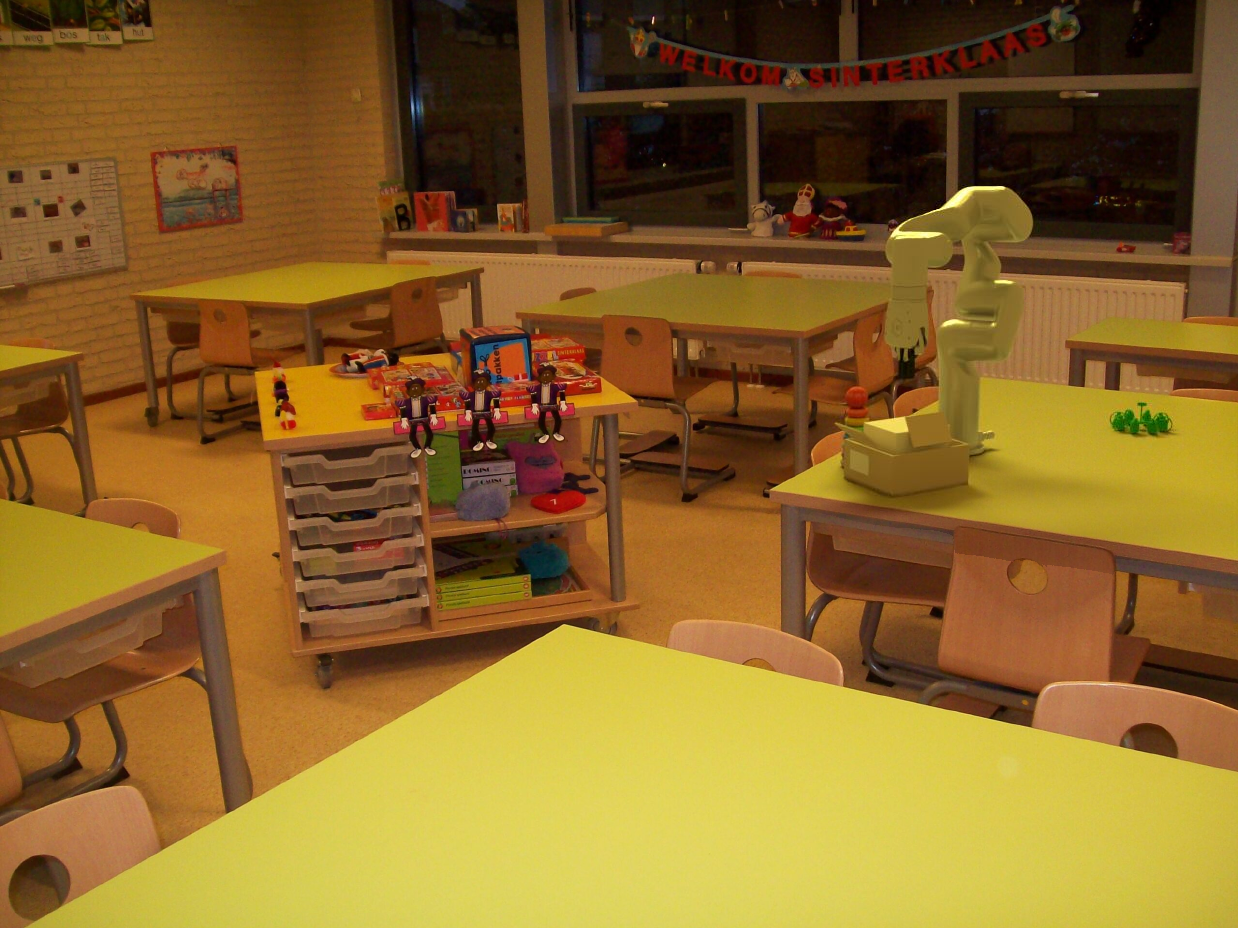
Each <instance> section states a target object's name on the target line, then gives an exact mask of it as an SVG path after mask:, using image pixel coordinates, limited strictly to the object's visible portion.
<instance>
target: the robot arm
mask: <svg viewBox="0 0 1238 928" xmlns="http://www.w3.org/2000/svg"><path fill="white" fill-rule="evenodd" d="M1033 227H1034V219H1033V215H1032V212H1031V209H1030V208H1029V206H1027V204H1026V203H1025V201H1023V200H1022V199H1021V197H1020V196H1019V195H1018V194H1017V193H1016V192H1015V191H1013V190H1012V189H1011V188H1009V187H1006V186H968V187H964V188H962V189H961V190H958V191H957V192H956V193H955V194H954V195H953V196H952V197H951V198H950V199H949V200H948V201H947V202H946V203H944V204H943V205H942V206H941V207H940V208H939V209H936V210H932V211H930V212H927V213H924V214H922V215H918V216H915V217H911V218H910V219H907V220H906V221H904V222H902V223H901V224H899V226H898V227H896V229H894V231H893V232H892V233H891V234H890V236H889V237H888V238H887V241H886V243H885V249H884V251H885V256H886V259H887V260H888V262H889V263H890V265H891V273H890V275H891V279H890V299H889V300H888V304H887V309H886V314H885V324H884V342H885V344H887V345H888V346H889V347H890V349H892V350H893V351H894V352H895V353H896V360H898V362H897V363H898V365H897V366H898V368H897V369H898V370H897V378H898V379H899V380H900V379H901V380H911V379H915V376H916V375H915V374H916V373H915V371H916V361H918V356H920V355H924V354H925V353H926V352H925V347H927V346H928V344H929V335H930V334H929V333H930V331H929V329H930V327H929V326H930V323H929V322H930V321H929V308H928V302H927V301H928V300H927V298H928V297H927V295H928V293H927V292H928V272H929V270H928V268H941V267H943V266H945V265H947V264H948V263H949V262H950V260H951V259H952V257H953V254H954V243H958V242H960V241H961V245H962V250H963V253H964V265H963V269H962V271H961V272H962V273H961V275H960V279H959V283H958V285H957V289H956V293H955V296H954V301H953V310H954V312H955V314H956V315H957V316H959V317H961V318H953V319H949V320H946V321H944V322H942V323H941V324H940V325H939V327H938V328H937V331H936V333H935V334H936V337H935V342H936V343H935V344H936V350H937V358H938V368H939V369H938V372H939V373H938V375H939V377H938V401H937V402H938V404H937V405H938V406H937V407H938V408H937V412H943V411H944V413H945V417H946V420H947V424H948V425H950V434H951V438H952V439H955V440H958V441H961V442H964V443H967V444H970V446H969V456H975V455H980V454H982V453H983V452H985V445H984V444H983V443H982V442H984V441H985V440H993V439H994V438H995V432H994V431H993V430H988V431H984V432H983V430H980V429H979V428H980V427H979V426H980V408H981V407H980V405H981V404H980V403H981V401H980V399H981V376H980V372H979V371H978V369H977V367H976V365H975V363H974V362H984V363H1002V362H1004V361H1006V360H1007V359H1008V358H1009V356H1010V355H1011V353H1012V350H1013V347H1014V344H1015V340H1016V337H1017V333H1018V329H1019V327H1020V326H1019V325H1020V322H1021V319H1022V315H1023V311H1024V307H1025V293H1024V289H1023V287H1022V285H1020V284H1019V283H1018V282H1017V281H1013V280H1005V279H1004V280H1003V279H999V277H1000V273H1001V271H1002V270H1001V269H1002V263H1001V260H1000V258H999V256H998V255H997V253H996V252H995V251H994V249H993V248H992V246H991V245H990V244H989V243H1021V242H1023V241H1025V240H1027V239H1028V238H1029V237H1030V235H1031V233H1032V230H1033Z"/></svg>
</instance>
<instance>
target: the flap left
mask: <svg viewBox="0 0 1238 928" xmlns="http://www.w3.org/2000/svg"><path fill="white" fill-rule="evenodd" d="M915 415H916V416H913V415H908V416H909V417H906V416H904V417H905V420H906V424H907V427H908V431H909V435H910V438H911V442H912V445H913V448H916V447H922V446H928V445H935V444H941V443H947V442H952V438H951V434H950V431H949V427H948V424H947V420H946V417H945V413H944V411H943V412H938V411H937V412H932V413H930V412H929V413H924V414H915Z"/></svg>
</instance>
